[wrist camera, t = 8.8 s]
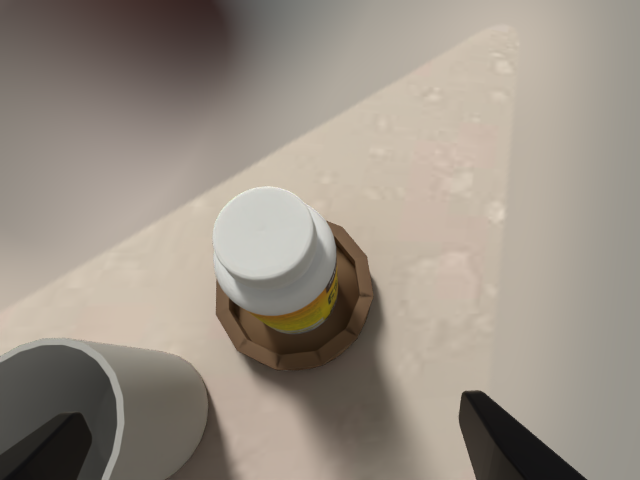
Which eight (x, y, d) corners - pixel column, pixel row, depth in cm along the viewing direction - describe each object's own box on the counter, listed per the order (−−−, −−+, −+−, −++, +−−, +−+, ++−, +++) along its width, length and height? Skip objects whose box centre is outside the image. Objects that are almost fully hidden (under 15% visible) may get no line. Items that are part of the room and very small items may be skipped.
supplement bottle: (345, 327, 21) (348, 289, 12) (259, 342, 21) (190, 316, 12) (330, 246, 23) (322, 157, 14) (251, 259, 23) (188, 180, 14)
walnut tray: (382, 361, 21) (385, 359, 19) (223, 378, 21) (213, 378, 19) (358, 217, 25) (360, 205, 23) (224, 233, 25) (216, 222, 23)
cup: (173, 508, 19) (40, 613, 10) (34, 432, 20) (-172, 471, 12) (231, 377, 21) (160, 378, 13) (102, 320, 23) (-32, 289, 15)
